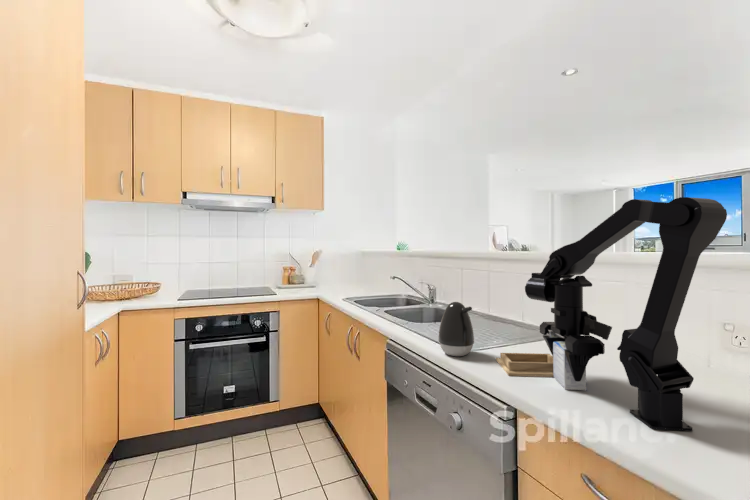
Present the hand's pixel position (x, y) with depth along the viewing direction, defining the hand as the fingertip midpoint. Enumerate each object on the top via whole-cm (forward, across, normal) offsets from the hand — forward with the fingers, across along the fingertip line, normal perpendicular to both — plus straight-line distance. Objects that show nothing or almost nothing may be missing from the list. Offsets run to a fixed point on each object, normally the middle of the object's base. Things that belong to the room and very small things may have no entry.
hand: (568, 374), depth 80 cm
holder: (+2, +10, +5) cm, 11 cm away
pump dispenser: (+2, +21, +22) cm, 31 cm away
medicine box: (+2, 0, 0) cm, 2 cm away
